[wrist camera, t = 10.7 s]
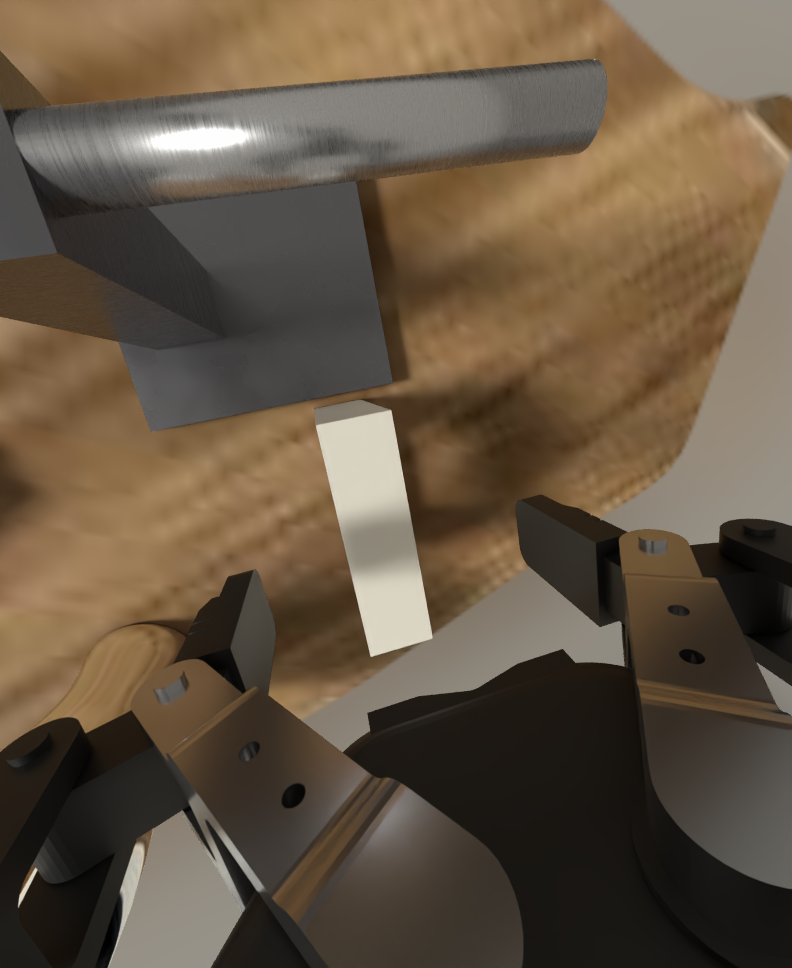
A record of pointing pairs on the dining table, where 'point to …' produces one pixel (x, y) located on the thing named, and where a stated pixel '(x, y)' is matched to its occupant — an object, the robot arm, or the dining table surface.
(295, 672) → the dining table surface
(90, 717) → the beer glass
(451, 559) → the dining table surface
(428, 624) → the square link
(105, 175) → the stand
